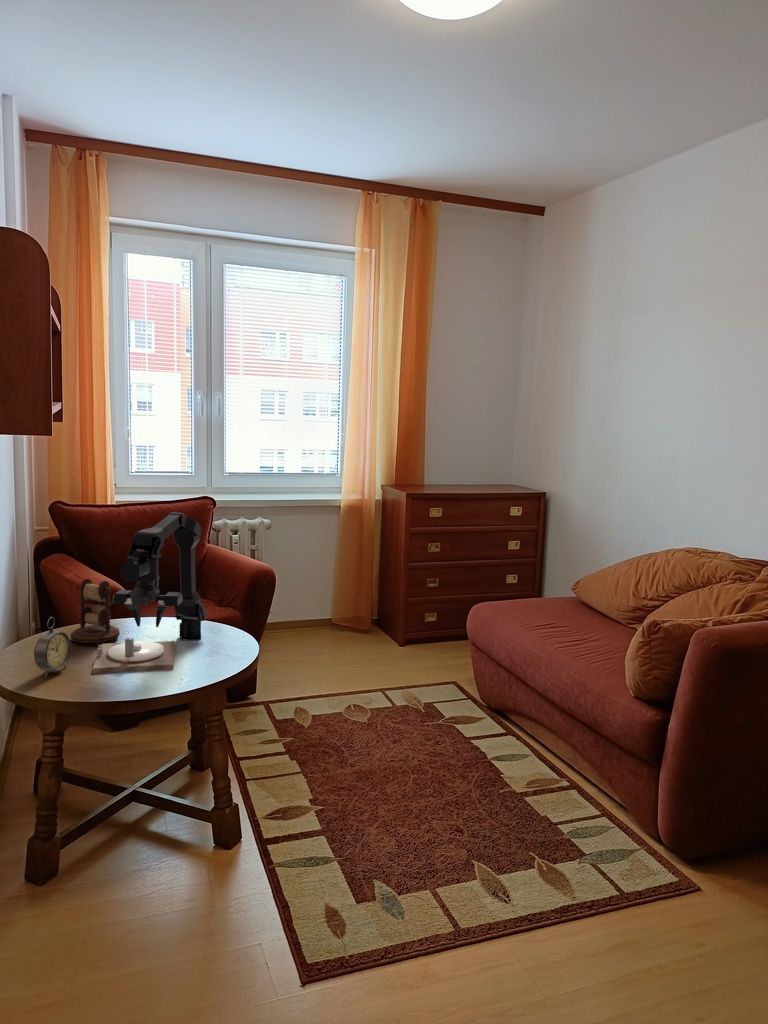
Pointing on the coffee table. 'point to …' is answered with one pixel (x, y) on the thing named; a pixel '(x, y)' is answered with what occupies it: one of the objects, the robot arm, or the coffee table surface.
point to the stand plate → (110, 665)
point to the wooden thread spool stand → (95, 614)
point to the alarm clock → (52, 650)
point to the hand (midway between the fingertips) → (148, 626)
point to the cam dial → (135, 651)
